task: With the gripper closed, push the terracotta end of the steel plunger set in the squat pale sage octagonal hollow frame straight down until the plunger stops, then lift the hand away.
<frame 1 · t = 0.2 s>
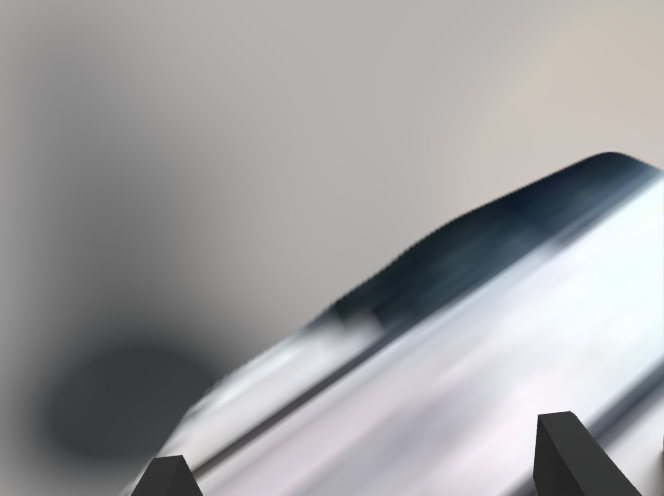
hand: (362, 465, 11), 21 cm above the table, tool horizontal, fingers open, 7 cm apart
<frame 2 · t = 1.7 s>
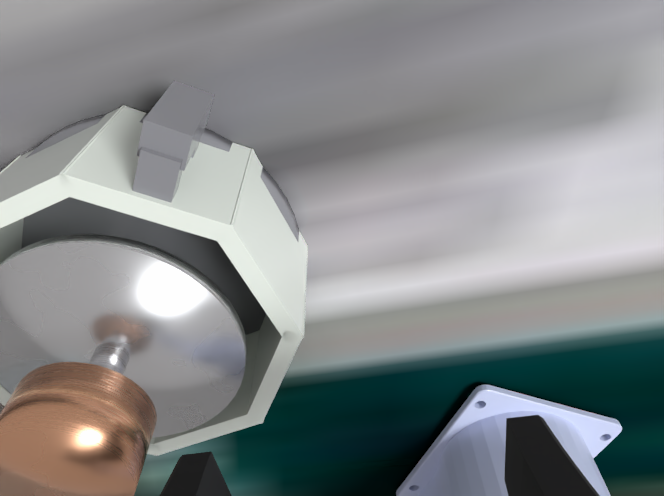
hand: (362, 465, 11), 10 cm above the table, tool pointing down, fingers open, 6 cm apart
octagonal hollow frame: (159, 249, 20), on the table
plunger: (91, 402, 14), point 7 cm above the table, slide at 0.0 cm
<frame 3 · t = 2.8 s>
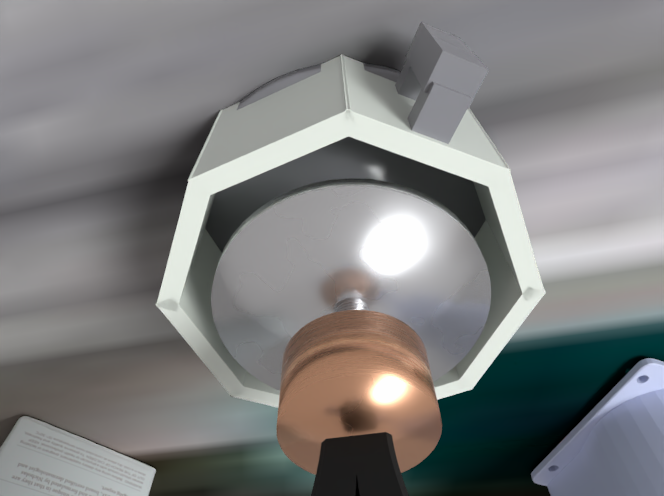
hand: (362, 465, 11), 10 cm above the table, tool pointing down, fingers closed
octagonal hollow frame: (344, 212, 20), on the table
supplement box: (65, 470, 29), on the table
plunger: (354, 357, 14), point 7 cm above the table, slide at 0.0 cm
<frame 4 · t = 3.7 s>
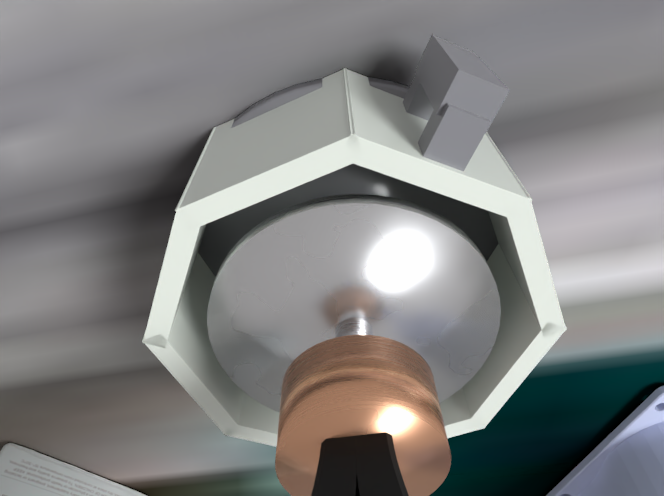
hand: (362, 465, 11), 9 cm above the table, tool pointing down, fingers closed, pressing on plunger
octagonal hollow frame: (347, 235, 18), on the table
plunger: (357, 382, 13), point 7 cm above the table, slide at 0.7 cm, touching gripper
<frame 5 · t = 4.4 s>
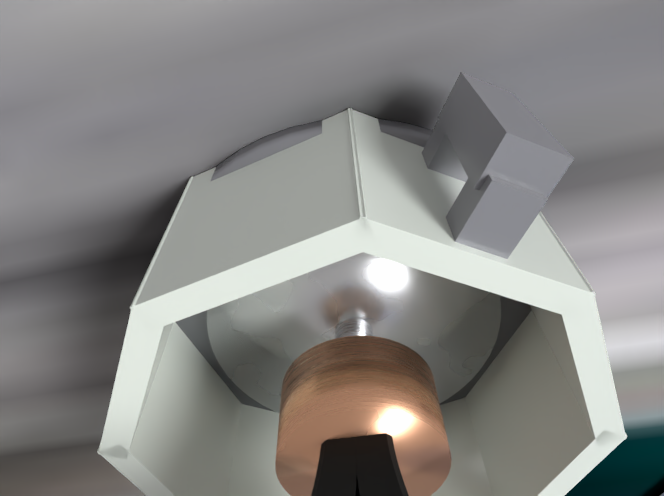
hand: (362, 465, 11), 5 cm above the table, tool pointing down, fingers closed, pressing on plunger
octagonal hollow frame: (351, 297, 16), on the table
plunger: (357, 383, 13), point 3 cm above the table, slide at 4.1 cm, touching gripper
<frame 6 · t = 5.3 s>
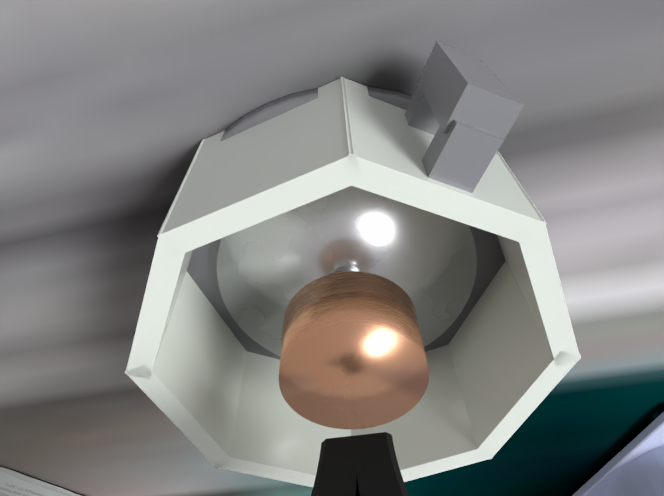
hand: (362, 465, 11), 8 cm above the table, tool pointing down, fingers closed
octagonal hollow frame: (345, 251, 17), on the table
plunger: (349, 318, 15), point 3 cm above the table, slide at 4.1 cm
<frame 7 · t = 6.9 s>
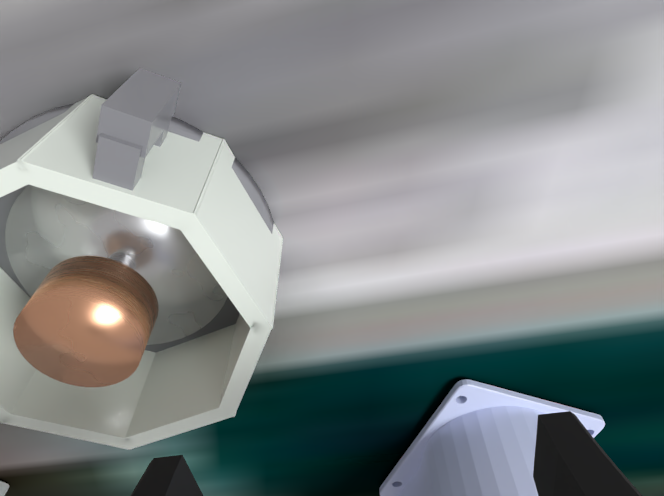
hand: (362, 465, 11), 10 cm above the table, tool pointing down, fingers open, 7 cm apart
octagonal hollow frame: (133, 242, 20), on the table
plunger: (104, 296, 18), point 3 cm above the table, slide at 4.1 cm
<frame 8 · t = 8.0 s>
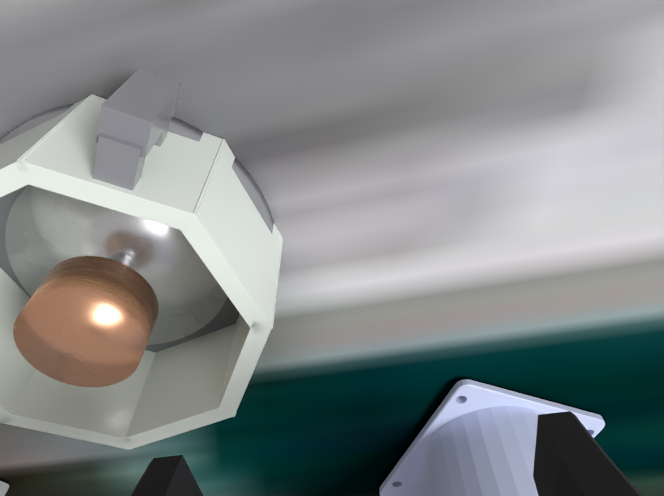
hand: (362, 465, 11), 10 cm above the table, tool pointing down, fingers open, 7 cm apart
octagonal hollow frame: (133, 242, 20), on the table
plunger: (104, 296, 18), point 3 cm above the table, slide at 4.1 cm
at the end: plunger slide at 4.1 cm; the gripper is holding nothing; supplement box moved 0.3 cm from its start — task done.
